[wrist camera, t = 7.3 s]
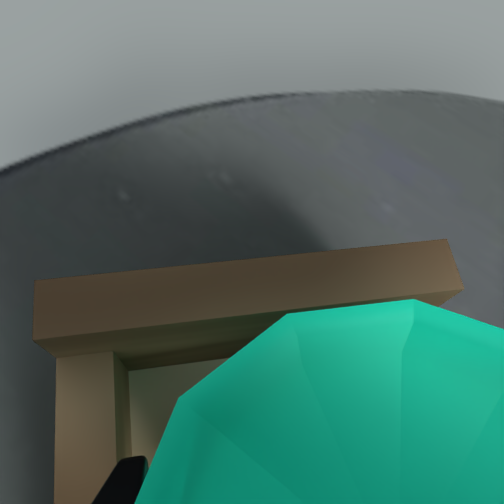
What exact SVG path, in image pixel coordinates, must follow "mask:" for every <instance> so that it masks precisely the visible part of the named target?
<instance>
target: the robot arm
mask: <svg viewBox="0 0 504 504" xmlns="http://www.w3.org/2000/svg"><path fill="white" fill-rule="evenodd" d="M148 470H149V467H148V461H147V458H146V457H145V456H144V455H140V456H133V457H127V458H122V459H121V460H119V461H118V463H117V464H116V466H115V467H114V469H113V470H112V472H111V473H110V475H109V477H108V478H107V480H106V481H105V483H104V484H103V486H102V488H101V489H100V491H99V492H98V494H97V495H96V497H95V498H94V500H93V502H92V503H91V504H135V501H136V499H137V496H138V494H139V491H140V489H141V487H142V484H143V482H144V479H145V477H146V475H147V472H148Z"/></svg>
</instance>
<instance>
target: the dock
mask: <svg viewBox="0 0 504 504" xmlns="http://www.w3.org/2000/svg"><path fill="white" fill-rule="evenodd" d="M463 289H464V286H463V283H462V281H461V278H460V275H459V272H458V269H457V266H456V264H455V261H454V258H453V255H452V252H451V249H450V247H449V244H448V241H447V239H440V240H430V241H420V242H410V243H401V244H391V245H381V246H371V247H361V248H351V249H341V250H331V251H321V252H311V253H301V254H291V255H281V256H271V257H262V258H252V259H242V260H232V261H222V262H212V263H202V264H192V265H182V266H172V267H162V268H152V269H142V270H133V271H123V272H113V273H103V274H93V275H83V276H73V277H63V278H53V279H43V280H34V305H33V331H32V340H33V341H34V342H35V343H37V344H38V345H39V346H41V347H42V348H43V349H45V350H46V351H47V352H49V353H50V354H51V355H53V356H54V357H55V358H56V404H55V464H54V504H91V503H92V502H93V500H94V498H95V497H96V495H97V494H98V492H99V491H100V489H101V488H102V486H103V484H104V483H105V481H106V480H107V478H108V477H109V475H110V473H111V472H112V470H113V469H114V467H115V466H116V464H117V463H118V461H119V460H121V459H122V458H127V457H133V456H140V455H144V456H145V457H146V458H147V461H148V467H150V465H151V463H152V460H153V458H154V455H155V453H156V451H157V448H158V446H159V443H160V441H161V438H162V436H163V434H164V431H165V429H166V426H167V424H168V422H169V419H170V417H171V414H172V412H173V410H174V407H175V405H176V402H177V400H178V398H179V397H180V396H181V395H183V394H184V393H185V392H187V391H188V390H189V389H190V388H192V387H193V386H194V385H196V384H197V383H198V382H199V381H201V380H202V379H203V378H205V377H206V376H207V375H208V374H210V373H211V372H212V371H214V370H215V369H216V368H218V367H219V366H220V365H221V364H223V363H224V362H225V361H227V360H228V359H229V358H230V357H232V356H233V355H234V354H236V353H237V352H238V351H239V350H241V349H242V348H243V347H245V346H246V345H247V344H248V343H250V342H251V341H252V340H254V339H255V338H256V337H258V336H259V335H260V334H261V333H263V332H264V331H265V330H267V329H268V328H269V327H270V326H272V325H273V324H274V323H276V322H277V321H278V320H279V319H281V318H282V317H283V316H285V315H286V314H289V313H297V312H306V311H315V310H323V309H332V308H340V307H349V306H357V305H366V304H374V303H383V302H392V301H400V300H409V299H415V300H418V301H421V302H424V303H427V304H430V305H433V306H436V307H438V306H440V305H441V304H443V303H444V302H446V301H447V300H449V299H450V298H452V297H453V296H455V295H456V294H458V293H459V292H460V291H462V290H463Z"/></svg>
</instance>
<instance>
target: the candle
mask: <svg viewBox="0 0 504 504" xmlns="http://www.w3.org/2000/svg"><path fill="white" fill-rule="evenodd" d="M135 504H504V329H501V328H498V327H495V326H492V325H489V324H487V323H484V322H481V321H478V320H475V319H472V318H469V317H466V316H463V315H460V314H457V313H454V312H451V311H448V310H445V309H442V308H439V307H436V306H433V305H430V304H427V303H424V302H421V301H418V300H415V299H409V300H400V301H392V302H383V303H374V304H366V305H357V306H349V307H340V308H332V309H323V310H315V311H306V312H297V313H289V314H286V315H285V316H283V317H282V318H281V319H279V320H278V321H277V322H276V323H274V324H273V325H272V326H270V327H269V328H268V329H267V330H265V331H264V332H263V333H261V334H260V335H259V336H258V337H256V338H255V339H254V340H252V341H251V342H250V343H248V344H247V345H246V346H245V347H243V348H242V349H241V350H239V351H238V352H237V353H236V354H234V355H233V356H232V357H230V358H229V359H228V360H227V361H225V362H224V363H223V364H221V365H220V366H219V367H218V368H216V369H215V370H214V371H212V372H211V373H210V374H208V375H207V376H206V377H205V378H203V379H202V380H201V381H199V382H198V383H197V384H196V385H194V386H193V387H192V388H190V389H189V390H188V391H187V392H185V393H184V394H183V395H181V396H180V397H179V398H178V400H177V402H176V405H175V407H174V410H173V412H172V414H171V417H170V419H169V422H168V424H167V426H166V429H165V431H164V434H163V436H162V438H161V441H160V443H159V446H158V448H157V451H156V453H155V455H154V458H153V460H152V463H151V465H150V467H149V470H148V472H147V475H146V477H145V479H144V482H143V484H142V487H141V489H140V491H139V494H138V496H137V499H136V501H135Z"/></svg>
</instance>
